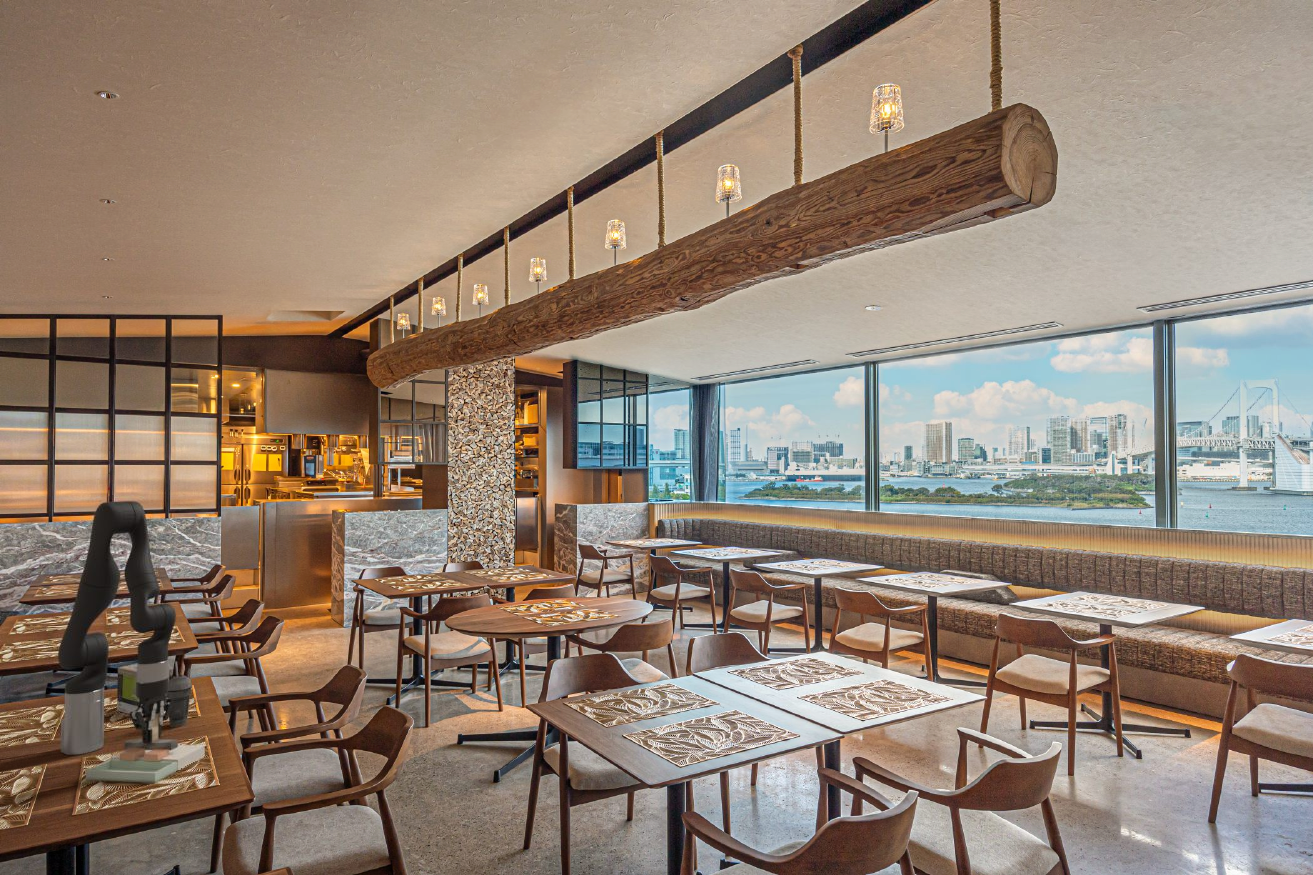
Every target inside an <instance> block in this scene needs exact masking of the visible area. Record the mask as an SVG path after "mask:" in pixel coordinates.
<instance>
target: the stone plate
mask: <svg viewBox="0 0 1313 875" xmlns="http://www.w3.org/2000/svg"><path fill="white" fill-rule="evenodd" d="M124 751H125V750H124ZM124 751H122V752H124ZM149 751H151V750H145V753H147V752H149ZM205 751H206V748H205V745H194V744H193V745H192V744H191V745H187V744H178V747H177V748H175V749H173V750H169V756H167V757H165V758H163V759H161V760H159V761H172V762H177V770H179V771H180V770H182V769H184V768H186V767H188V766H190V765H191V763H192V764H193V762H194V763H196V762H197V761H199V760H201V759H203V758H205V753H206V752H205ZM122 752H120V753H122ZM120 753H117V754H114V755H112V756H110V759H118V760H120ZM136 760H144V755H143V756H141V757H139V758H137V759H136ZM195 761H196V762H195ZM189 764H190V765H189ZM187 765H188V766H187ZM185 766H186V767H185ZM181 768H182V769H181Z"/></svg>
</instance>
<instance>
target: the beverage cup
mask: <svg viewBox="0 0 1313 875" xmlns="http://www.w3.org/2000/svg"><path fill="white" fill-rule="evenodd" d="M174 664H175V665H174V667H175V676H173V677H172V678H169V691H168V693H167V694H166V695H167V698H173V699H174V701H173V704H172V707H171V710H170V713H169V716H168V720H169V727H170V728H179V727H178V726H181V727H183V726H187V722H188V717H189V707H190V706H189V705H190V697H191V694H192V688H193V685H192V682H191V679H190V678H189V677H187V676H186V675H183V674H181V675H180V674H179V672H178V671H179V669H178V661H176V660H175V661H174Z"/></svg>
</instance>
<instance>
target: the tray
mask: <svg viewBox="0 0 1313 875" xmlns="http://www.w3.org/2000/svg"><path fill="white" fill-rule="evenodd" d="M176 771H177V762H172V761H144V760H134V761H128V760H118V759H111V758H110V759H108V760H106V761H103V762H102V763H100V764H97V765H95V766H92V767H91V768H89V769H86V770H85V781H99V782H100V781H103V782H121V781H122V782H124V783H147V784H148V783H149V784H151V783H152V784H156V783H158V782H160V781H161V780H164V779H165V778H167V777H170V776H172V775H173V774H175V773H177V772H178V771H177V772H176Z"/></svg>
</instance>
